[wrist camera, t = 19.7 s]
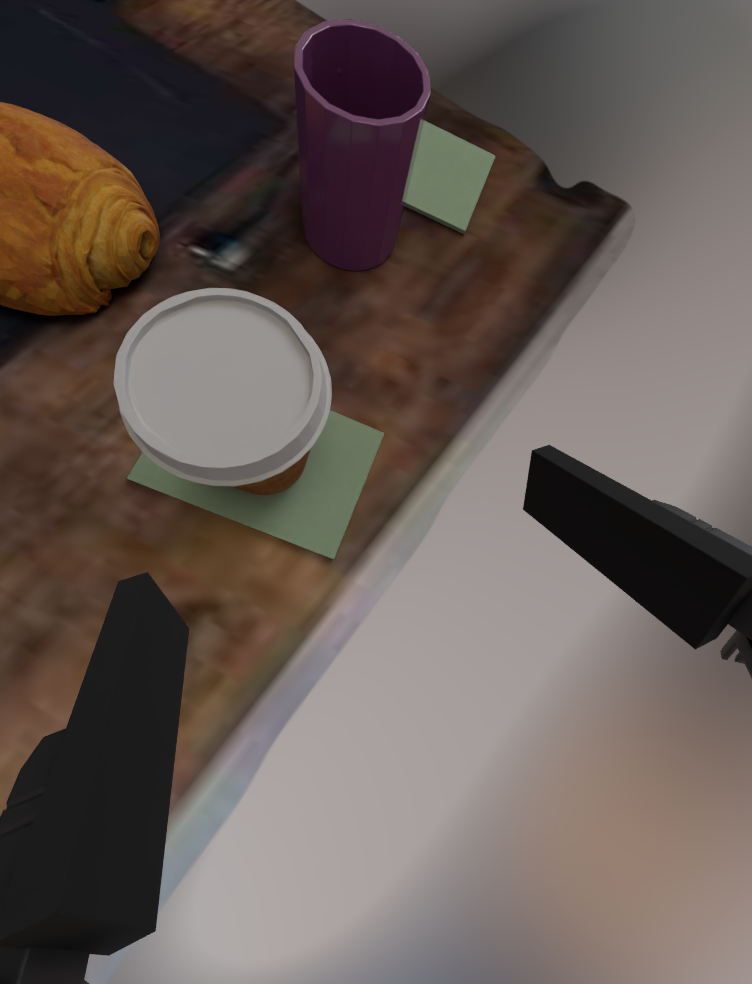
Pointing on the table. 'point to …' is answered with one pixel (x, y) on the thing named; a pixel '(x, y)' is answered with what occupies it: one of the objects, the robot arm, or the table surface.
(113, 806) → the robot arm
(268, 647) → the table surface
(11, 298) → the croissant
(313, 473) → the cup mat
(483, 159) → the mug mat
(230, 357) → the disposable coffee cup
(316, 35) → the plum mug
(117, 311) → the table surface
